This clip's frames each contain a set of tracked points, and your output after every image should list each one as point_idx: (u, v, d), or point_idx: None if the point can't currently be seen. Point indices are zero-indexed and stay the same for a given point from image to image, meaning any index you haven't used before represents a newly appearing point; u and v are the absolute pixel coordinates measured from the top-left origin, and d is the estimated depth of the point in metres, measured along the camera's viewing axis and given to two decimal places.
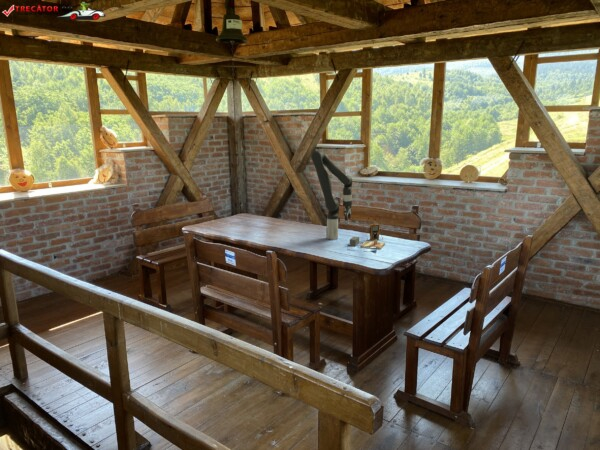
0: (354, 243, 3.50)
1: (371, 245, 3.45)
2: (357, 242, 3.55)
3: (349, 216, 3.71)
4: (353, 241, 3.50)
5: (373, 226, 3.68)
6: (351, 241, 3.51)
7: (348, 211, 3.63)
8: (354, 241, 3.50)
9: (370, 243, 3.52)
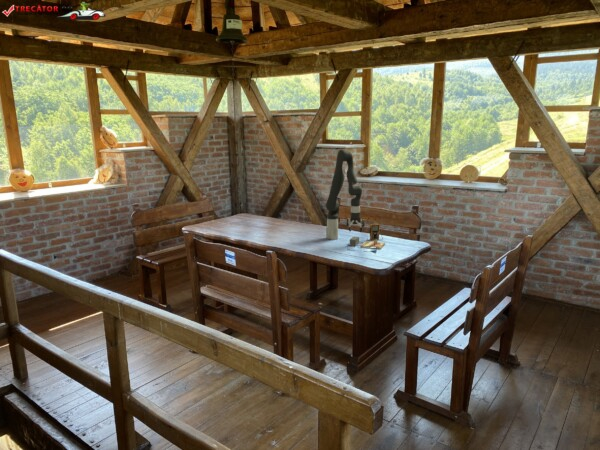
0: (354, 243, 3.50)
1: (371, 245, 3.45)
2: (357, 242, 3.55)
3: (350, 229, 3.55)
4: (353, 241, 3.50)
5: (373, 226, 3.68)
6: (351, 241, 3.51)
7: None
8: (354, 241, 3.50)
9: (370, 243, 3.52)
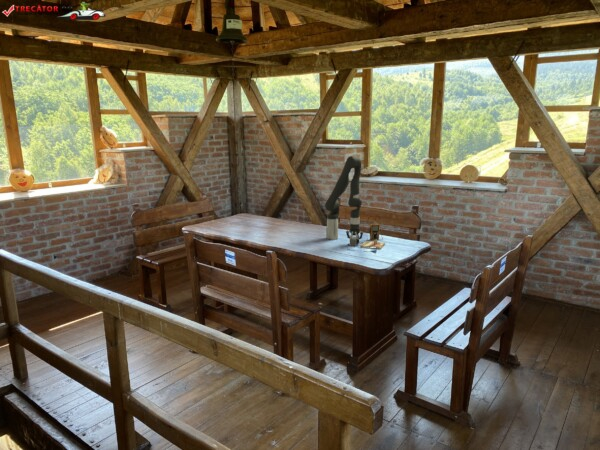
0: (354, 243, 3.50)
1: (371, 245, 3.45)
2: None
3: None
4: (353, 241, 3.50)
5: (373, 226, 3.68)
6: (351, 241, 3.51)
7: (358, 234, 3.55)
8: (354, 241, 3.50)
9: (370, 243, 3.52)
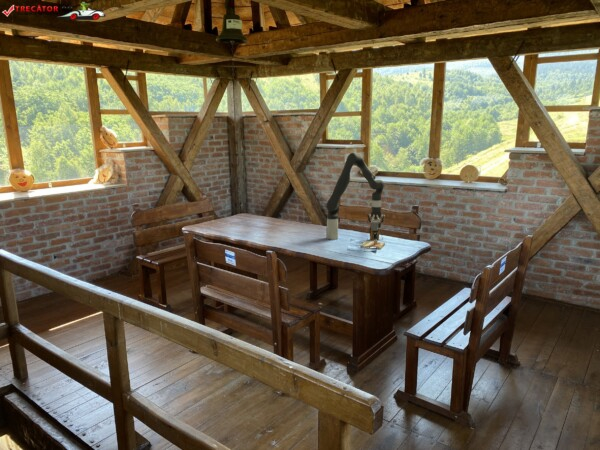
0: (376, 226, 3.41)
1: (371, 245, 3.45)
2: None
3: None
4: (375, 224, 3.40)
5: None
6: (373, 224, 3.41)
7: None
8: (376, 224, 3.40)
9: (370, 243, 3.52)
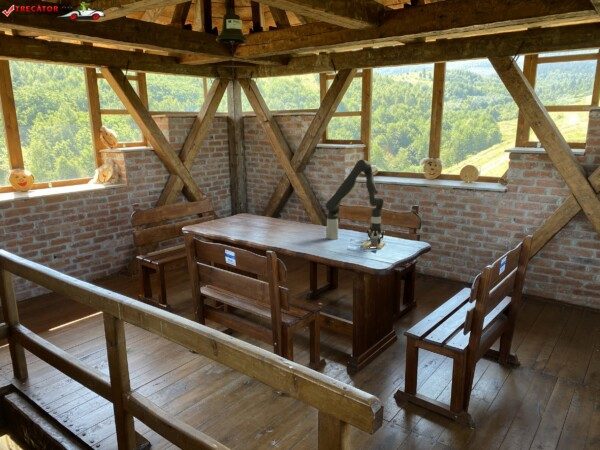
0: (375, 243, 3.43)
1: (371, 245, 3.45)
2: None
3: None
4: (375, 241, 3.43)
5: None
6: (372, 240, 3.44)
7: (379, 233, 3.48)
8: (375, 240, 3.43)
9: (370, 243, 3.52)
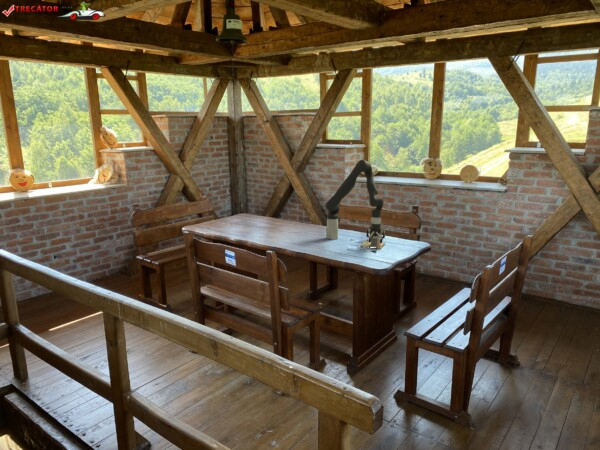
0: (375, 243, 3.43)
1: None
2: (378, 242, 3.48)
3: (370, 240, 3.50)
4: (375, 241, 3.43)
5: None
6: (372, 241, 3.44)
7: None
8: (375, 241, 3.43)
9: (370, 243, 3.52)
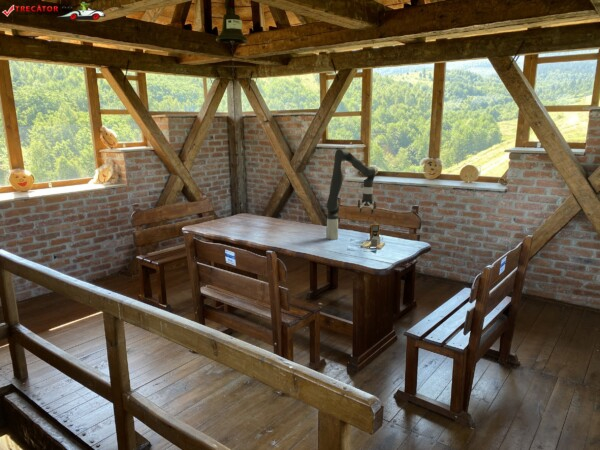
0: (375, 243, 3.43)
1: None
2: (378, 242, 3.48)
3: (361, 210, 3.47)
4: (375, 241, 3.43)
5: (373, 226, 3.68)
6: (372, 241, 3.44)
7: (371, 204, 3.45)
8: (375, 241, 3.43)
9: (370, 243, 3.52)
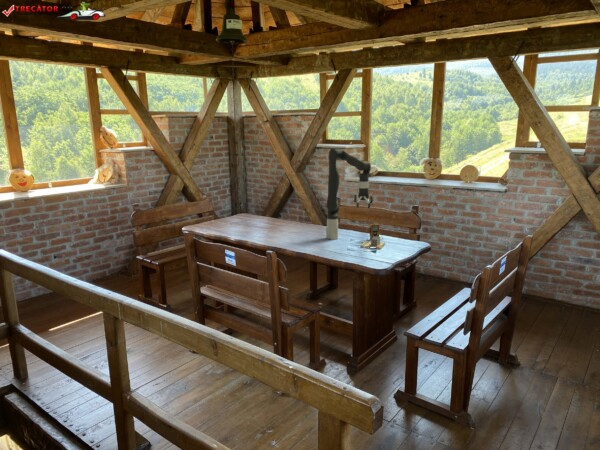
0: (375, 243, 3.43)
1: None
2: (378, 242, 3.48)
3: (358, 205, 3.47)
4: (375, 241, 3.43)
5: (373, 226, 3.68)
6: (372, 241, 3.44)
7: None
8: (375, 241, 3.43)
9: (370, 243, 3.52)
